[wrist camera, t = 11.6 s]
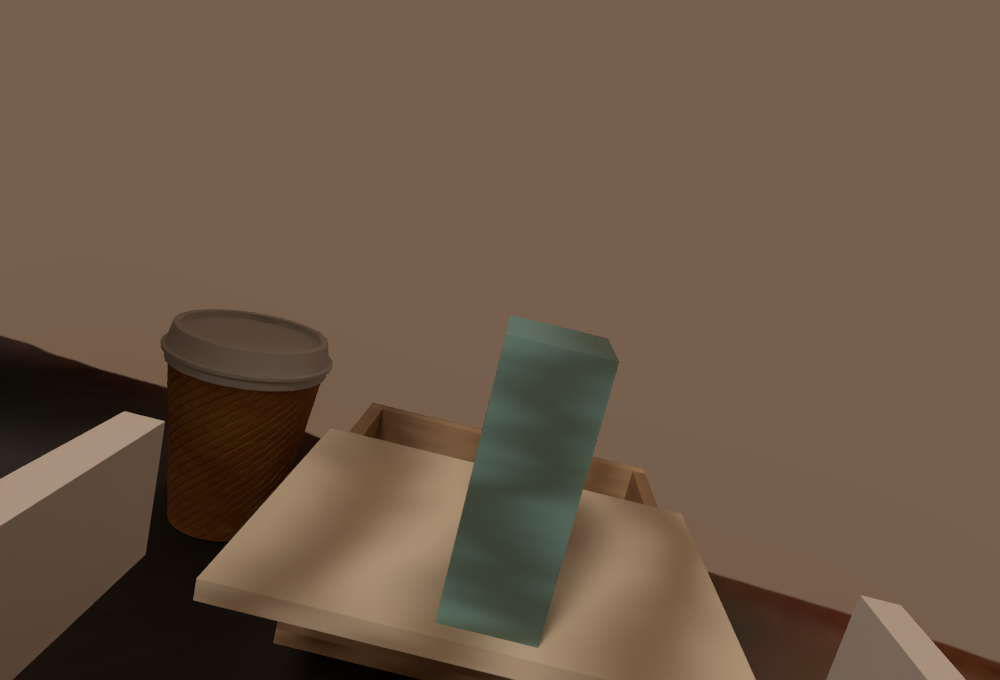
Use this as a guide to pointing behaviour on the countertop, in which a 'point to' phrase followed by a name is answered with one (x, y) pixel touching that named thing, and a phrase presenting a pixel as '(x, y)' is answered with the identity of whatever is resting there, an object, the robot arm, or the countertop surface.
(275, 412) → the disposable coffee cup
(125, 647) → the countertop surface
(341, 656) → the carton
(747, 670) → the lid
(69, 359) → the countertop surface
